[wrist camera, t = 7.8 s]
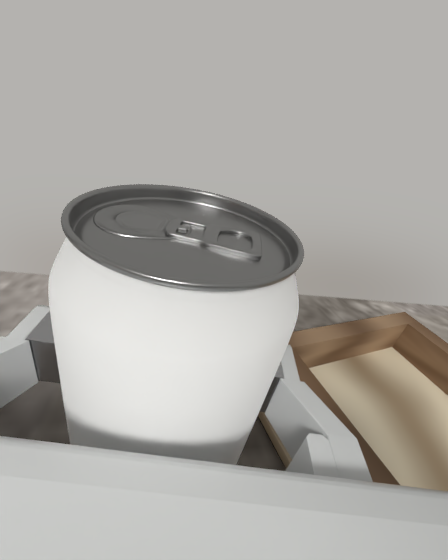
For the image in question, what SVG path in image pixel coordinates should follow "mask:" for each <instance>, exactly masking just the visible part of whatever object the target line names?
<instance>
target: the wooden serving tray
mask: <svg viewBox="0 0 448 560" xmlns="http://www.w3.org/2000/svg"><path fill="white" fill-rule="evenodd" d="M288 345H290V346H291V347H292V351H293V355H294V359H295V363H296V367H297V371H298V375H299V378H300V381H301V382H305V383H306V384H307V385H308V387H309V388H310V389H311V390H312V391H313V392H314V393H315V394H316V395H317V396H318V397H319V398H320V399H321V401H322V402H323V403H324V404H325V405H326V406H327V407H328V408H329V409H330V410H331V411H332V412H333V413H334V415H335V416H336V417H337V418H338V419H339V420H340V421H341V422H342V423H343V424H344V425H345V426H346V427H347V429H348V430H349V431H350V432H351V433H352V434H353V435H354V436H355V437H356V438H357V440H358V443H359V446H360V448H361V451H362V454H363V456H364V459H365V462H366V465H367V467H368V470H369V473H370V475H371V478H372V481H373V482H377V483H385V484H393V485H401V486H409V487H417V488H425V489H433V490H441V491H448V343H446V342H445V341H444V340H442V339H441V338H440V337H438V336H437V335H435V334H434V333H433V332H431V331H430V330H429V329H427V328H426V327H425V326H423V325H422V324H420V323H419V322H418V321H416V320H415V319H414V318H412V317H411V316H410V315H408V314H407V313H406V312H402V313H396V314H390V315H385V316H379V317H373V318H368V319H362V320H356V321H351V322H345V323H340V324H334V325H328V326H323V327H317V328H311V329H306V330H300V331H295V332H293V333H292V335H291V338H290V340H289V343H288ZM258 417H259V418H260V420H261V422H262V424H263V426H264V428H265V430H266V432H267V434H268V435H269V437H270V439H271V441H272V443H273V445H274V447H275V449H276V450H277V452H278V454H279V456H280V458H281V460H282V462H283V464H284V466H285V467H286V469H287V467H288V466H289V464H290V462H291V461H292V458H291V457H290V455H289V453H288V452H287V450H286V448H285V447H284V445H283V443H282V442H281V440H280V438H279V437H278V435H277V433H276V432H275V430H274V428H273V427H272V425H271V423H270V422H269V420H268V418H267V417H266V415H265V412H259V414H258Z"/></svg>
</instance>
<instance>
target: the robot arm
mask: <svg viewBox="0 0 448 560" xmlns="http://www.w3.org/2000/svg"><path fill="white" fill-rule="evenodd" d="M38 381H45V382H54V383H60V376H59V370H58V363H57V357H56V350H55V343H54V337H53V330H52V323H51V315H50V307H49V306H44V305H38V306H36V307H35V308H34V309H33V310H32V311H31V312H30V313H29V314H28V315H27V316H26V317H25V318H24V319H23V320H22V321H21V322H20V323H19V324H18V325H17V326H16V327H15V328H14V329H13V330H12V331H11V332H10V333H9V334H8V335H7V337H2V336H1V337H0V408H2V407H3V406H5V405H6V404H8V403H9V402H10V401H12V400H13V399H15V398H16V397H18V396H19V395H21V394H22V393H23V392H25V391H26V390H28V389H29V388H31V387H32V386H34V385H35V384H37V383H38ZM259 412H265V415H266V417H267V418H268V420H269V422H270V423H271V425H272V427H273V428H274V430H275V432H276V433H277V435H278V437H279V438H280V440H281V442H282V443H283V445H284V447H285V448H286V450H287V452H288V453H289V455H290V457H291V458H292V461H291V462H290V464H289V466H288V467H287V469H286V470H285V471H280V470H272V469H264V468H256V467H248V466H240V465H232V464H223V463H215V462H207V461H199V460H191V459H183V458H175V457H167V456H159V455H151V454H142V453H134V452H126V451H118V450H110V449H102V448H94V447H86V446H78V445H70V444H62V443H53V442H45V441H37V440H29V439H21V438H13V437H5V436H0V560H448V491H441V490H433V489H425V488H417V487H409V486H401V485H393V484H385V483H377V482H373V481H372V478H371V475H370V473H369V470H368V467H367V465H366V462H365V459H364V456H363V454H362V451H361V448H360V446H359V443H358V440H357V438H356V437H355V436H354V435H353V434H352V433H351V432H350V431H349V430H348V429H347V427H346V426H345V425H344V424H343V423H342V422H341V421H340V420H339V419H338V418H337V417H336V416H335V415H334V413H333V412H332V411H331V410H330V409H329V408H328V407H327V406H326V405H325V404H324V403H323V402H322V401H321V399H320V398H319V397H318V396H317V395H316V394H315V393H314V392H313V391H312V390H311V389H310V388H309V387H308V385H307V384H306V383H305V382H301V381H300V378H299V375H298V371H297V367H296V363H295V359H294V355H293V351H292V347H291V346H290V345H288V346H287V348H286V350H285V353H284V355H283V357H282V360H281V362H280V365H279V367H278V369H277V372H276V374H275V376H274V379H273V381H272V383H271V386H270V388H269V390H268V393H267V395H266V397H265V400H264V402H263V404H262V407H261V409H260V411H259Z"/></svg>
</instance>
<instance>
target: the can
mask: <svg viewBox="0 0 448 560" xmlns="http://www.w3.org/2000/svg"><path fill="white" fill-rule="evenodd" d="M61 224H62V228H63V231H64V233H65V235H66V239H65V241H64V243H63V245H62V247H61V249H60V251H59V253H58V255H57V257H56V259H55V261H54V264H53V266H52V269H51V272H50V276H49V283H48V295H49V306H50V315H51V323H52V330H53V337H54V343H55V350H56V357H57V363H58V370H59V376H60V383H61V389H62V396H63V402H64V408H65V415H66V421H67V427H68V434H69V440H70V445H78V446H86V447H94V448H102V449H110V450H118V451H126V452H134V453H142V454H151V455H159V456H167V457H175V458H183V459H191V460H199V461H207V462H215V463H223V464H232V465H236V464H237V462H238V459H239V457H240V455H241V453H242V450H243V448H244V446H245V443H246V441H247V439H248V437H249V434H250V432H251V430H252V427H253V425H254V423H255V420H256V418H257V416H258V414H259V411H260V409H261V407H262V404H263V402H264V400H265V397H266V395H267V393H268V390H269V388H270V386H271V383H272V381H273V379H274V376H275V374H276V372H277V369H278V367H279V365H280V362H281V360H282V357H283V355H284V353H285V350H286V348H287V346H288V343H289V340H290V338H291V335H292V333H293V330H294V327H295V324H296V320H297V317H298V311H299V297H298V289H297V282H296V275H295V272H296V271H297V270H298V268H299V267H300V265H301V264H302V261H303V257H304V249H303V245H302V243H301V241H300V239H299V238H298V237H297V235H296V234H295V233H294V232H293V231H292V230H291V229H290V228H289V227H288V226H287V225H285V224H284V223H283V222H281V221H280V220H278V219H277V218H275V217H274V216H272V215H270V214H268V213H266V212H264V211H262V210H260V209H258V208H256V207H254V206H251V205H249V204H246V203H244V202H241V201H238V200H235V199H232V198H229V197H225V196H222V195H218V194H214V193H210V192H206V191H200V190H196V189H189V188H183V187H175V186H166V185H146V184H145V185H144V184H143V185H142V184H138V185H137V184H136V185H120V186H112V187H106V188H101V189H97V190H93V191H90V192H87V193H85V194H82V195H80V196H78V197H77V198H75V199H73V200H72V201H71V202H70V203H69V204H68V205H67V206H66V207H65V209H64V210H63V213H62V217H61Z"/></svg>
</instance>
